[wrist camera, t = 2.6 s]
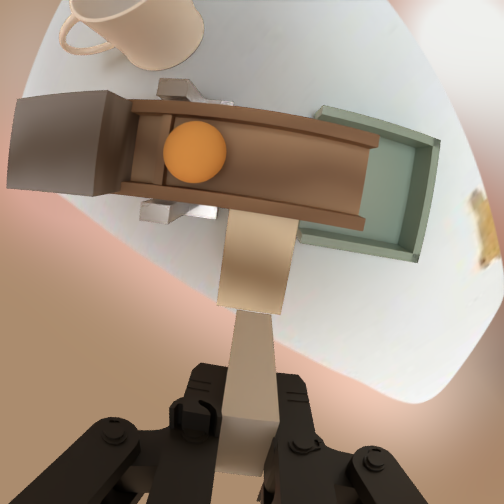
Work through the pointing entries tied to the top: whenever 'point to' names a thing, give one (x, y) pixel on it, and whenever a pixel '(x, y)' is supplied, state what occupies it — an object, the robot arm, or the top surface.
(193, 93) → the stand
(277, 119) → the lever
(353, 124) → the tray
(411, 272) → the top surface
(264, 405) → the robot arm
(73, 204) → the top surface
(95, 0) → the mug
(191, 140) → the ball
